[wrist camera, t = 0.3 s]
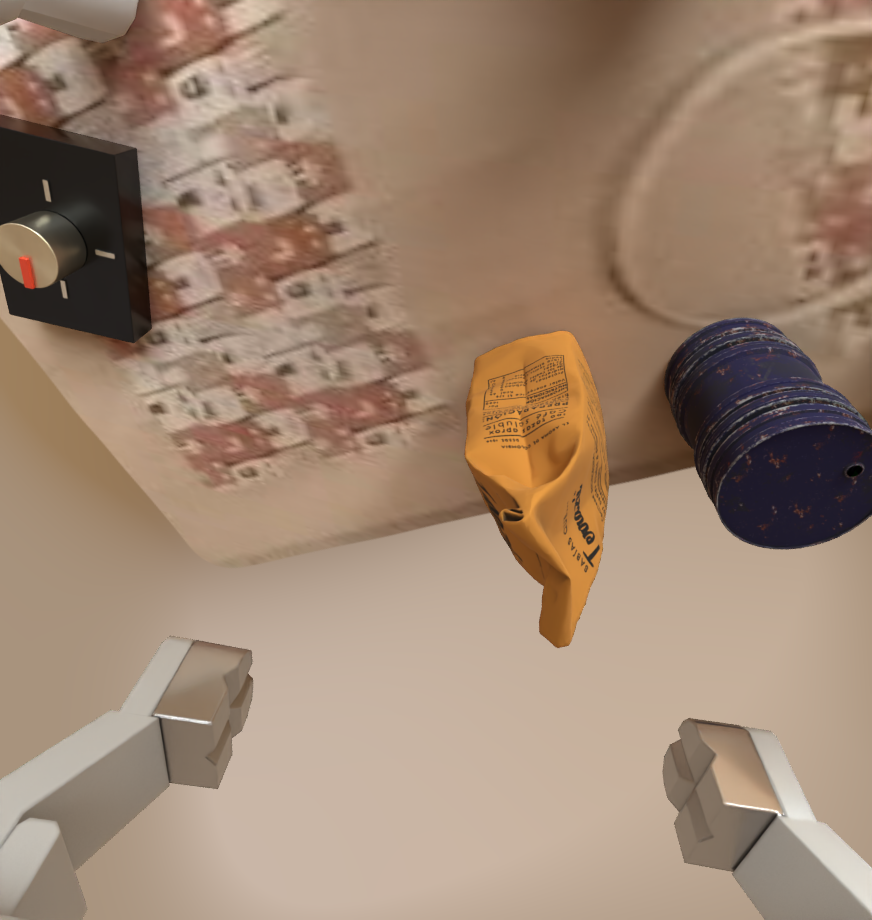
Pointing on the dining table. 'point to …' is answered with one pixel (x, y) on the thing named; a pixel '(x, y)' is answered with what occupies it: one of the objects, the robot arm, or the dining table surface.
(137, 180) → the timer panel
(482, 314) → the dining table surface
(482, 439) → the coffee package
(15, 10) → the salt shaker
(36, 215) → the dial
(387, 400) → the dining table surface
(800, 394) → the storage jar
